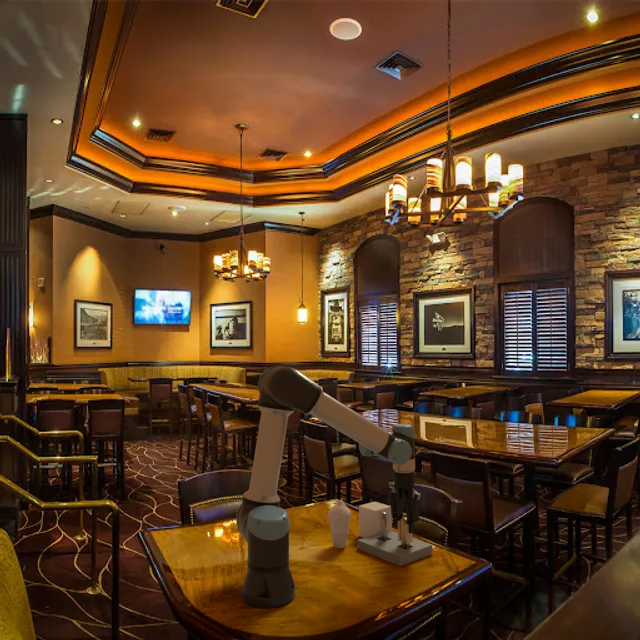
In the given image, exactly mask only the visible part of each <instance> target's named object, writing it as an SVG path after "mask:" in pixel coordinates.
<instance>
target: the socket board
mask: <svg viewBox="0 0 640 640" xmlns="http://www.w3.org/2000/svg"><path fill="white" fill-rule="evenodd" d="M356 542H357V544H356V545H357V549H358V550H360V551H361V552H365V553H367V554H369V555H372V556H374V557H377V558H379V559H382V560H384V561H386V562H389V563H392V564H394V565H397V566H400V567H402V566H405V565H407V564H410V563H412V562H416V561H419V560H421V559H423V558H425V557H426V558H427V557H428V556H431V555H433V554H434V553H433V544H431V543H428V542H425V541H422V540H420V539H416V538H414V537H413V542H411V543H410V548H409V549H406V550H405V549H403V548H401V541H398V532H395V531H393V530H392V531H390V530H388V540H387V541H381V540H380V538H379V533H378V534H375V535H372V536H369V537H366V538H364V537H362V538H360V539H357V541H356Z"/></svg>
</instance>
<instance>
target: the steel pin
mask: <svg viewBox="0 0 640 640" xmlns="http://www.w3.org/2000/svg"><path fill="white" fill-rule="evenodd" d="M379 538H380V540H381V541H387V540H388V512H385V511H381V512H379Z"/></svg>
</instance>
